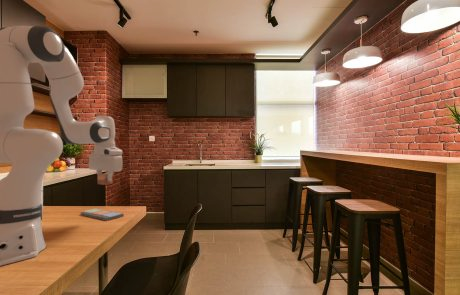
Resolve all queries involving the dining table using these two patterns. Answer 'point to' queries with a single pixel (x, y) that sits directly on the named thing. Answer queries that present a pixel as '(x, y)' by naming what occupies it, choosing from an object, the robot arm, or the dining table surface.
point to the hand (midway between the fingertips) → (104, 180)
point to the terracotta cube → (103, 179)
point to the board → (102, 214)
